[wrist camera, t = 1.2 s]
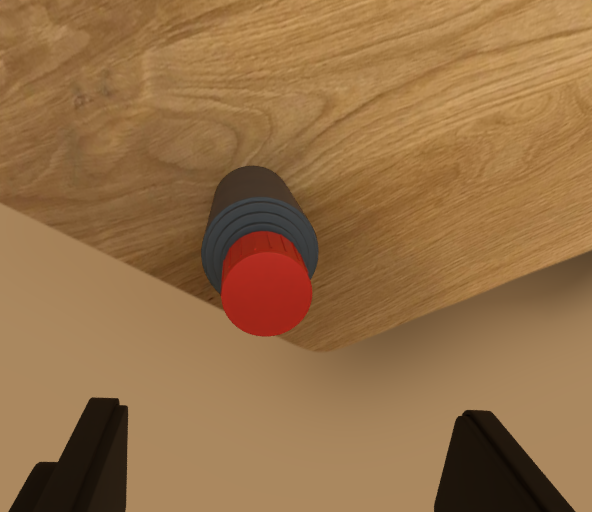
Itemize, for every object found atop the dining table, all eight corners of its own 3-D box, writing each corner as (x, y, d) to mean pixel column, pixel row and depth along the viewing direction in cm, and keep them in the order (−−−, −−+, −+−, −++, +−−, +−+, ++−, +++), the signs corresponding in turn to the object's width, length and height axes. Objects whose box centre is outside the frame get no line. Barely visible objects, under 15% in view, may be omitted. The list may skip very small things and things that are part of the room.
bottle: (210, 238, 39) (187, 354, 21) (216, 161, 38) (196, 213, 19) (286, 245, 40) (328, 360, 22) (295, 170, 39) (349, 227, 20)
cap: (219, 303, 24) (217, 335, 20) (226, 226, 23) (224, 246, 19) (297, 307, 24) (306, 340, 21) (307, 233, 23) (319, 254, 20)
